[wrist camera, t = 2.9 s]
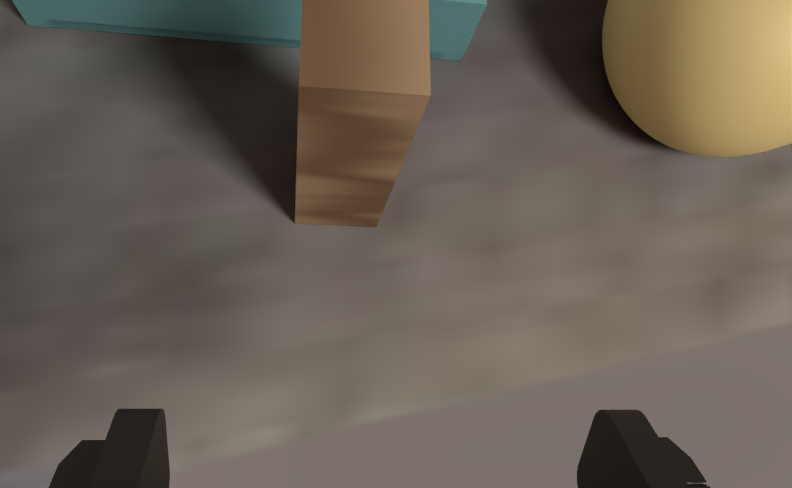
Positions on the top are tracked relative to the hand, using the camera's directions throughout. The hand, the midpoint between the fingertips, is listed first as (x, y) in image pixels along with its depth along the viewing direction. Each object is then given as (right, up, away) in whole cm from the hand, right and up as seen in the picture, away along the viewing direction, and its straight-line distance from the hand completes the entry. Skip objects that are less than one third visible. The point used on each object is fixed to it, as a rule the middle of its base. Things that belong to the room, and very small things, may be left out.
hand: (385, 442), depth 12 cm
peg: (-2, +6, +17) cm, 19 cm away
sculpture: (+15, +12, +22) cm, 30 cm away
